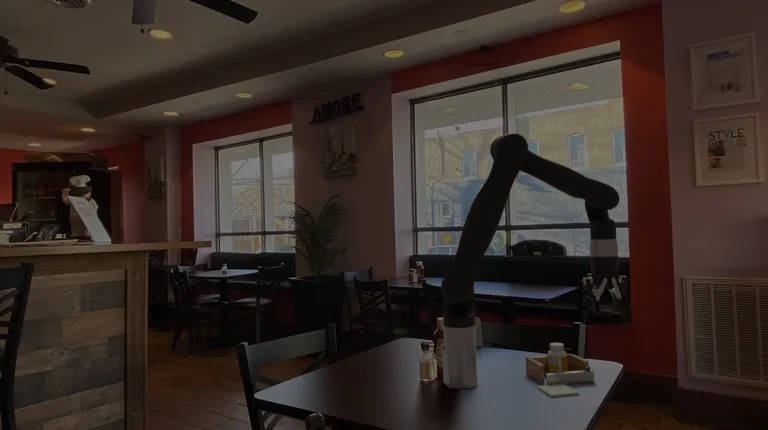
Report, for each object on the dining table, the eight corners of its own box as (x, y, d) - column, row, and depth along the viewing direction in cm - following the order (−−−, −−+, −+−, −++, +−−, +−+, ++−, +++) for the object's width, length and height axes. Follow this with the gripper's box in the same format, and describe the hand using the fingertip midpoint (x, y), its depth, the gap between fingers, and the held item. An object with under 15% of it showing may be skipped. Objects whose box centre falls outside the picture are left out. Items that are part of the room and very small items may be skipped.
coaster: (551, 397, 137) (551, 395, 137) (537, 388, 145) (537, 386, 145) (579, 394, 138) (579, 392, 138) (563, 385, 146) (563, 383, 146)
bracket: (540, 382, 150) (539, 365, 150) (526, 373, 159) (525, 357, 159) (589, 378, 152) (588, 361, 152) (572, 369, 161) (571, 353, 161)
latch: (549, 385, 146) (548, 371, 146) (546, 384, 148) (545, 370, 148) (594, 381, 148) (593, 367, 149) (591, 379, 150) (590, 366, 150)
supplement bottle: (565, 373, 157) (563, 341, 158) (569, 379, 152) (568, 346, 152) (546, 374, 158) (545, 342, 158) (550, 379, 152) (549, 346, 153)
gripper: (589, 256, 146) (591, 316, 146) (634, 254, 149) (637, 312, 148) (574, 255, 154) (577, 312, 153) (618, 253, 156) (620, 309, 156)
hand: (606, 312), depth 151 cm, fingers open, 5 cm apart
